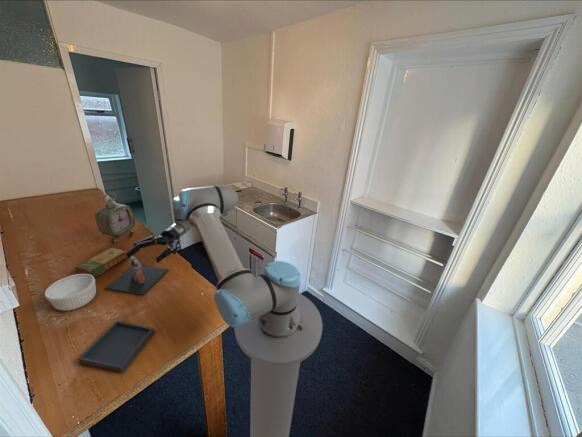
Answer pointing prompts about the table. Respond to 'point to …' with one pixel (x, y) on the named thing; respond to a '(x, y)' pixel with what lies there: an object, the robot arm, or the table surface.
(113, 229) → the tabletop clock
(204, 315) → the table surface
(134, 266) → the lighter
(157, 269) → the mat
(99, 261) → the carton
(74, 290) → the ramekin
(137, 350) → the tray
